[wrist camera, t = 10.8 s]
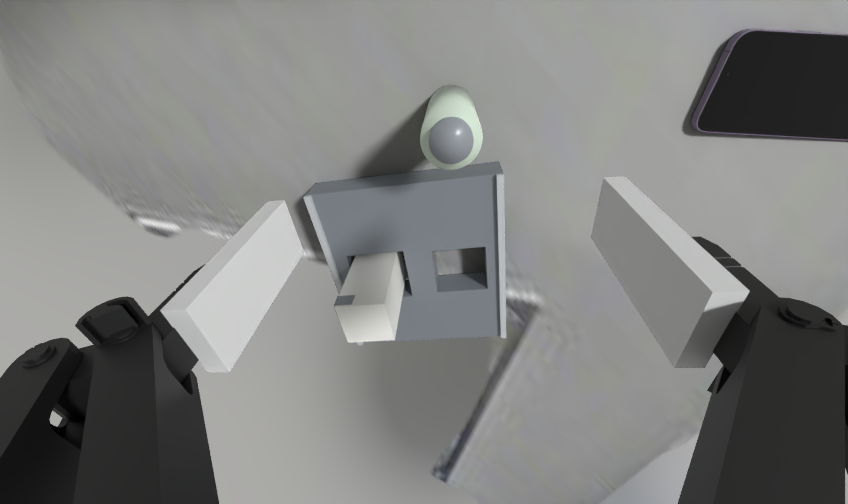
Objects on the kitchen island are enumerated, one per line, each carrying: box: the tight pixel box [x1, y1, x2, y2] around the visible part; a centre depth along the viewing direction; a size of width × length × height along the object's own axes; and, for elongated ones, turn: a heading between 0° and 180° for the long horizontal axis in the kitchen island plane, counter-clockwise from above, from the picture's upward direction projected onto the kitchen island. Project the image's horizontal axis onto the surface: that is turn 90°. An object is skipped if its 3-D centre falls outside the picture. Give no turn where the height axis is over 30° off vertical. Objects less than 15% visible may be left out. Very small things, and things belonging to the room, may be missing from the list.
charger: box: [334, 251, 406, 343], centre depth 34 cm, size 5×4×10 cm
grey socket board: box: [303, 162, 506, 345], centre depth 36 cm, size 20×18×3 cm
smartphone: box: [691, 29, 848, 141], centre depth 26 cm, size 7×1×15 cm
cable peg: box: [420, 85, 483, 170], centre depth 25 cm, size 4×4×10 cm
